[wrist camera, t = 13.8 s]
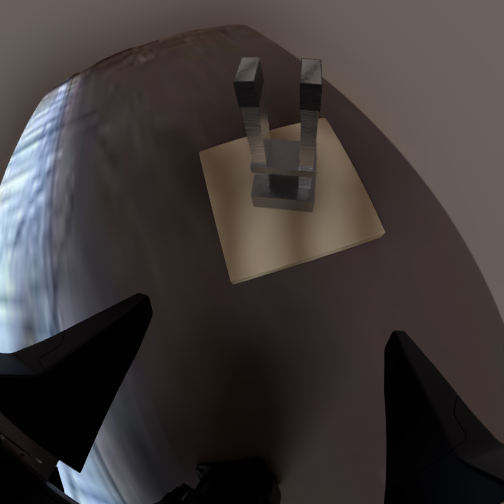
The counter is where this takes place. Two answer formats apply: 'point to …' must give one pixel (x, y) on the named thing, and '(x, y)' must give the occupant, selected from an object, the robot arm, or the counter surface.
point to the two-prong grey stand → (280, 151)
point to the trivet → (286, 221)
